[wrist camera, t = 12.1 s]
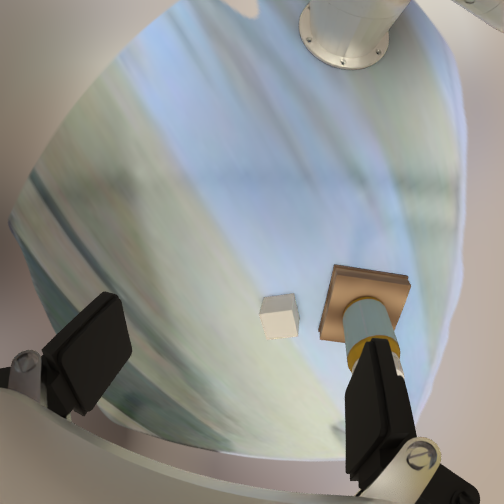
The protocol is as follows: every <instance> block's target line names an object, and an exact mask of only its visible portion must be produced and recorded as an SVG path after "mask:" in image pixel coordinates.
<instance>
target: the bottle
mask: <svg viewBox="0 0 504 504" xmlns="http://www.w3.org/2000/svg"><path fill="white" fill-rule="evenodd" d="M343 328H344V336H345V344H346V353H347V362H348V367H349V369H350V371H351V372H352V375H353V373H354V370H355V368H356V365H357V363H358V360H359V358H360V355H361V353H362V350H363V347H364V345H365V343H366V341H369V342H370V341H371V339H372V338H382V339H388V341H389V344H390V348H391V352H392V355H393V359H394V363H395V367H396V371H397V375H401V376H402V377H403V378H404V373H403V369H402V366H401V363H400V360H399V359H400V348H399V345H398V342H397V339H396V336H395V333H394V330H393V327H392V324H391V321H390V318H389V316H388V313H387V310H386V308H385V306H384V304H383V303H382V302H381V301H380V300H378V299H376V298H373V297H363V298H359V299H357V300H354V301H353V302H351V303H350V304H349V305H348V306H347V307H346V309H345V311H344V313H343Z"/></svg>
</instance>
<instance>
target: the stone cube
mask: <svg viewBox="0 0 504 504" xmlns="http://www.w3.org/2000/svg"><path fill="white" fill-rule="evenodd" d="M259 316H260V319H261V322H262V326H263V329H264V332H265V336H266V339H267V340H270V339H280V338H289V337H297V336H298V331H299V320H300V318H299V313H298V309H297V304H296V299H295V295H294V293H291V294H285V295H278V296H271V297H264V299H263V302H262V306H261V309H260V313H259Z"/></svg>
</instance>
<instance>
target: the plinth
mask: <svg viewBox="0 0 504 504" xmlns="http://www.w3.org/2000/svg"><path fill="white" fill-rule="evenodd" d="M410 288H411V284H410V283H409V281H408V276H406V275H399V274H393V273H386V272H380V271H373V270H367V269H360V268H354V267H347V266H341V265H334V268H333V272H332V277H331V281H330V285H329V290H328V294H327V298H326V302H325V306H324V310H323V314H322V318H321V321H320V325H319V329H318V332H320V340H327V341H335V342H343V343H345V336H344V328H343V313H344V311H345V309H346V307H347V306H348V305H349V304H350V303H351V302H353V301H354V300H357V299H359V298H363V297H373V298H376V299H378V300H380V301H381V302H382V303H383V304H384V306H385V308H386V310H387V313H388V316H389V318H390V321H391V324H392V327H393V330H395V327H396V325H397V322H398V320H399V317H400V315H401V312H402V310H403V307H404V304H405V302H406V299H407V296H408V293H409V291H410Z"/></svg>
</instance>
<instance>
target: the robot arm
mask: <svg viewBox="0 0 504 504" xmlns="http://www.w3.org/2000/svg"><path fill="white" fill-rule="evenodd" d="M410 1H411V0H310V3H309V4H308V5H307V6H306V7H305V8H304V9H303V11H302V13H301V15H300V19H299V31H300V36H301V38H302V41H303V43H304V44H305V46H306V48H307V49H308V50H309V51H310V52H311V53H312V54H313V55H314V56H315V57H316V58H318V59H319V60H321V61H322V62H324V63H326V64H328V65H331V66H333V67H336V68H341V69H347V70H356V69H363V68H366V67H369V66H371V65H373V64H375V63H376V62H377V61H379V60H380V59H381V58H382V57H383V55H384V54H385V52H386V50H387V48H388V44H389V33H388V30H389V29H390V27H391V26H392V25H393V23H394V22H395V21H396V20H397V18H398V17H399V16H400V14H401V13H402V12H403V11H404V9H405V8H406V7H407V5H408V4H409V3H410ZM452 1H454V2H455V3H457V4H458V5H460V6H461V7H463V8H464V9H466V10H467V11H469V12H471V13H472V14H474V15H475V16H476V17H478V18H480V19H481V20H483V21H484V22H485V23H487V24H488V25H490V26H491V27H493V28H495V29H496V30H498V31H500V32H502V33H504V0H452ZM308 40H309V41H311V42H310V43H309V42H307V41H308ZM376 52H377V53H379V55H378V54H376ZM341 62H343V63H344V65H342V64H341ZM42 352H43V355H42V356H40V354H39V353H38V352H36V351H34V350H26V351H22V352H20V353H19V354H18V355H16V356H15V357H14V359H13V360H12V363H11V367H6V368H1V369H0V504H480V495H479V493H478V491H477V489H476V488H475V487H474V486H472V485H471V484H469V483H468V482H466V481H465V480H463V479H462V478H461V477H459V476H458V475H456V474H455V473H453V472H452V471H450V470H449V469H447V468H446V467H445V466H443V465H441V464H440V462H441V452H440V449H439V447H438V446H437V444H436V443H435V442H433V441H432V440H430V439H428V438H425V437H417V435H416V430H415V425H414V420H413V415H412V410H411V406H410V401H409V397H408V393H407V389H406V385H405V381H404V378H403V377H402V376H401V375H397V371H396V367H395V363H394V359H393V355H392V352H391V348H390V344H389V341H388V339H382V338H372V339H371V341H370V342H369V341H366V343H365V345H364V347H363V350H362V353H361V355H360V358H359V360H358V363H357V365H356V368H355V370H354V373H353V375H352V377H351V380H350V382H349V384H348V387H347V389H346V392H345V423H346V473H347V474H350V481H359V488H360V490H359V491H358V492H357V493H356V494H355V495H354V496H339V495H323V494H308V493H297V492H288V491H280V490H272V489H264V488H259V487H252V486H247V485H242V484H237V483H232V482H227V481H223V480H218V479H214V478H210V477H206V476H202V475H199V474H195V473H192V472H188V471H185V470H181V469H178V468H175V467H172V466H169V465H166V464H163V463H160V462H158V461H155V460H152V459H149V458H147V457H144V456H142V455H139V454H136V453H134V452H132V451H129V450H127V449H124V448H122V447H120V446H118V445H115V444H113V443H111V442H109V441H107V440H104V439H103V438H100V437H98V436H96V435H94V434H92V433H90V432H88V431H86V430H85V429H83V428H81V427H79V426H77V425H75V424H73V423H72V422H71V414H70V412H71V411H72V410H74V411H75V412H77V413H79V414H81V415H82V416H85V414H86V413H87V412H88V411H91V410H92V409H93V408H94V406H95V405H96V403H97V402H98V400H99V399H100V398H101V396H102V395H103V393H104V392H105V391H106V389H107V388H108V386H109V385H110V384H111V382H112V381H113V379H114V378H115V377H116V375H117V374H118V373H119V371H120V370H121V368H122V367H123V366H124V364H125V363H126V362H127V360H128V359H129V358H130V356H131V354H132V346H131V342H130V338H129V334H128V330H127V325H126V321H125V316H124V312H123V307H122V302H121V300H120V299H119V297H118V296H117V295H116V294H113V293H109V292H102V293H101V294H100V295H99V296H98V297H97V298H95V299H94V300H93V301H92V302H91V303H90V304H89V305H88V306H87V307H86V308H85V309H83V310H82V311H81V312H80V313H79V314H78V315H77V316H76V317H75V318H74V319H73V320H72V321H71V322H69V323H68V324H67V325H66V326H65V327H64V328H63V329H62V330H61V331H60V332H59V333H58V334H57V335H56V336H55V337H54V338H53V339H52V340H51V341H50V342H49V343H48V344H47V345H46V346H45V347H44V348H43V349H42Z"/></svg>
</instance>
